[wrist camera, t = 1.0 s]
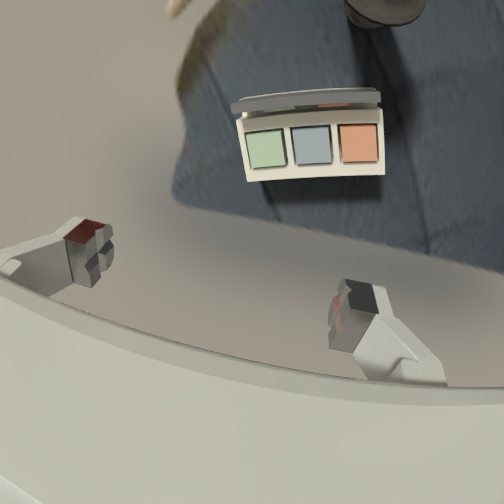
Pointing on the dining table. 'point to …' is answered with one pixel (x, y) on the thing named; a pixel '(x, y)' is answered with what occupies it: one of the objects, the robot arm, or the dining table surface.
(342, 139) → the key terracotta
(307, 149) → the key slate
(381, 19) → the beverage cup
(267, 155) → the key sage
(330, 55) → the dining table surface
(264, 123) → the keypad console
